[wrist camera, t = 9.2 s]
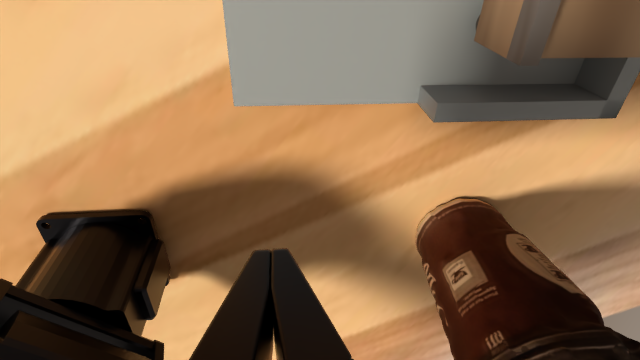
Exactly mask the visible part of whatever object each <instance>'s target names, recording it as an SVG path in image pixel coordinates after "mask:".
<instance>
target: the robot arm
mask: <svg viewBox="0 0 640 360" xmlns="http://www.w3.org/2000/svg"><path fill="white" fill-rule="evenodd" d="M140 218H144V219H145V220H142V219H140ZM46 223H48V224H46ZM36 225H37V228H38V229H39V231H40V233H41V235H42V237H43V239H44V241H45V243H46V244H45V245H44V247H43V248H42V250H41V251H40V252H39V254H38V255H37V257H36V258H35V259H34V261H33V262H32V264H31V265H30V266H29V268H28V269H27V271H26V272H25V273H24V275H23V276H22V278H21V279H20V280H19V282H18V283H17V285H16V286H13V285H12V284H13V283H11V282H9V281H6V280H4V279H0V360H164V343H162V342H159V341H157V340H154V341H152V340H150V339H147V338H145V337H142V336H141V335H142V332H143V329H144V326H145V323H146V320H152V319H154V318H155V316H156V315H157V312H158V308H159V305H160V302H161V298H162V295H163V291H164V288H165V286H166V285H168V283H169V280H170V275H169V271H170V264H169V260H168V257H167V253H166V250H165V246H164V243H163V241H162V240H161V239H159V238H158V235H157V231H156V228H155V224H154V221H153V218H152V215H151V214H150V213H149V212H146V211H126V212H104V213H82V214H60V215H44V216H42V217H40V219H39V220H38V221H37V223H36ZM273 339H274V342H275V350H276V357H277V360H354V359H351V354H350V353H349V351H348V349H347V348H346V346H345V344H344V342H343V341H342V339H341V337H340V336H339V334H338V332H337V331H336V329H335V327H334V325H333V324H332V322H331V320H330V319H329V317H328V315H327V314H326V312H325V310H324V309H323V307H322V305H321V303H320V302H319V300H318V298H317V297H316V295H315V293H314V292H313V290H312V288H311V286H310V285H309V283H308V281H307V280H306V278H305V276H304V275H303V273H302V271H301V269H300V268H299V266H298V264H297V263H296V261H295V259H294V258H293V256H292V254H291V253H290V251H289V250H288V249H287V248H282V249H273V250H272V251H270V250H269V249H265V250H255V251H253V252H252V254H251V256H250V257H249V259H248V261H247V262H246V264H245V266H244V268H243V269H242V271H241V273H240V274H239V276H238V278H237V279H236V281H235V283H234V284H233V286H232V288H231V290H230V291H229V293H228V295H227V296H226V298H225V300H224V301H223V303H222V305H221V307H220V308H219V310H218V312H217V313H216V315H215V317H214V318H213V320H212V322H211V323H210V325H209V327H208V329H207V330H206V332H205V334H204V335H203V337H202V339H201V340H200V342H199V344H198V346H197V347H196V349H195V351H194V352H193V354H192V356H191V357H190V359H189V360H272V352H273Z"/></svg>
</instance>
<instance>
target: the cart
mask: <svg viewBox="0 0 640 360" xmlns="http://www.w3.org/2000/svg"><path fill="white" fill-rule="evenodd" d="M474 41H475V42H477V43H479V44H481V45H482V46H484V47H486V48H488V49H490V50H491V51H493V52H495V53H497V54H499V55H501V56H502V57H504V58H506V59H508V60H510V61H511V62H513V63H515V64H517V65H519V66H538V65H539V62H540V59H541V58H631V57H640V0H484V2H483V6H482V10H481V14H480V15H479V17H478V19H477V21H476V34H475V38H474Z"/></svg>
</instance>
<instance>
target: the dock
mask: <svg viewBox="0 0 640 360" xmlns="http://www.w3.org/2000/svg"><path fill="white" fill-rule="evenodd" d="M222 1H223V10H224V19H225V28H226V37H227V46H228V55H229V65H230V74H231V83H232V92H233V101H234V106H276V105H332V104H389V103H418V104H419V106H420V107H421V108H422V109H423V110H424V112H425V113H426V114H427V115H428V116H429V118H430V119H431V120H432V121H433V122H472V121H515V120H558V119H600V118H616V117H617V115H618V113H619V111H620V109H621V107H622V105H623V103H624V101H625V99H626V97H627V95H628V93H629V91H630V89H631V87H632V85H633V83H634V82H635V80H636V78H637V76H638V74H639V72H640V57H631V58H541V59H540V62H539V65H538V66H519V65H517V64H515V63H513V62H511V61H510V60H508V59H506V58H504V57H502V56H501V55H499V54H497V53H495V52H493V51H491V50H490V49H488V48H486V47H484V46H482V45H481V44H479V43H477V42H475V41H474V38H475V34H476V21H477V19H478V17H479V15H480V14H481V10H482V6H483V2H484V0H222Z"/></svg>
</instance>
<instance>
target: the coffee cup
mask: <svg viewBox="0 0 640 360" xmlns="http://www.w3.org/2000/svg"><path fill="white" fill-rule="evenodd" d="M416 246H417V250H418V252H419V253H420V255H421V257H422V264H423V268H424V271H425V273H426V277H427V279H428V283H429V286H430V289H431V292H432V294H433V296H434V298H435V300H436V307H437V310H438V313H439V315H440V318H441V320H442V325H443V328H444V331H445V333H446V336H447V338H448V340H449V344H450V348H451V353H452V355H453V358H454V360H640V342H638V341H635V340H632V339H629V338H627V337H625V336H623V335H622V334H620V333H618V332H615V331H613V330H612V329H611V328H609V327H605V326H604V322H603V319H602V316H601V313H600V311H599V309H598V308H597V306H596V305H595V304H594V303H593V302H592V301H591V299H590V298H589V297H588V296H586V295H585V294H584V293H583V292H582V291H581V290H580V289H579V288H578V287H577V286H576V285H575V284H574V283H573V282H572V281H571V280H570V279H569V278H568V277H567V276H566V275H565V274H564V273H563V272H562V271H561V270H559V269H558V268H557V267H556V266H555V265H554V264H553V263H552V262H551V261H550V260H549V259H548V258H547V257H546V256H545V255H544V254H543V253H542V252H541V251H540V250H539V249H538V248H537V247H536V246H535V245H534V244H533V243H532V242H531V241H530V240H529V239H528V238H527V237H525V236H524V235H523V234H520V233H518V232H516V231H515V230H514V229H513V228H512V227H511V226H510V225H509V224H508V223H507V222H506V220H505V219H504V217H503V216H502V214H500V213H499V212H498V211H497V210H496V209H495V208H494V207H493V206H491V205H490V204H488V203H485V202H482V201H480V200H478V199H461V198H459V199H455V200H452V201H450V202H448V203H446V204H444V205H440V206H438V207H436V208H435V209H434V210H433V211H431V212H429V213H428V214H427V215H426V216H425V217H424V218H423V219H422V220H421V222H420V223H419V225H418V228H417V234H416Z"/></svg>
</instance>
